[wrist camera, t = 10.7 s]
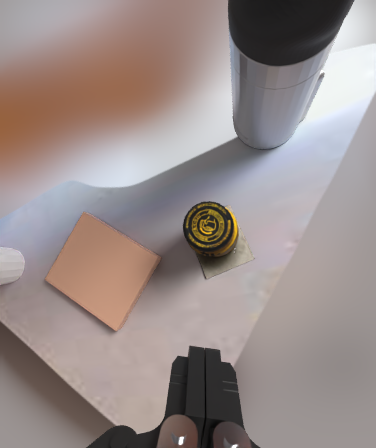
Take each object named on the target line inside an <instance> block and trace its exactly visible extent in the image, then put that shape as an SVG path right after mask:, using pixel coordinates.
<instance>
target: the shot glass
mask: <svg viewBox="0 0 376 448" xmlns="http://www.w3.org/2000/svg"><path fill="white" fill-rule="evenodd" d="M24 268H25V261H24V257H23V255H22V254H21V253H20V252H19V251H18V250H15V249H11V248H5V247H0V285H3V284H7V283H12V282H14V281H16V280H18V279H19V278H20V277H21V275H22V273H23V271H24Z"/></svg>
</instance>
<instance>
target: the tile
mask: <svg viewBox="0 0 376 448" xmlns="http://www.w3.org/2000/svg"><path fill="white" fill-rule="evenodd" d="M161 258H162V257H160V256H158V255H157V254H155V253H153V252H152V251H150V250H149V249H147V248H145V247H144V246H142V245H140V244H139V243H137V242H135V241H134V240H132V239H131V238H129V237H127V236H126V235H124V234H122V233H121V232H119V231H118V230H116V229H114V228H113V227H111V226H109V225H108V224H106V223H104V222H103V221H101V220H100V219H98V218H96V217H95V216H93V215H91V214H90V213H86V212H83V213H82V215H81V217H80V219H79V220H78V222H77V224H76V226H75V227H74V229H73V231H72V233H71V234H70V236H69V238H68V240H67V241H66V243H65V245H64V247H63V248H62V250H61V252H60V254H59V255H58V257H57V259H56V261H55V262H54V264H53V266H52V268H51V269H50V271H49V273H48V275H47V276H46V278H45V280H46V281H48V282H49V283H50V284H52V285H53V286H54V287H56V288H57V289H59V290H60V291H61V292H63V293H64V294H66V295H67V296H68V297H70V298H71V299H72V300H74V301H75V302H77V303H78V304H79V305H81V306H82V307H83V308H85V309H86V310H88V311H89V312H90V313H92V314H93V315H95V316H96V317H97V318H99V319H100V320H101V321H103V322H104V323H106V324H107V325H108V326H110V327H111V328H113V329H114V330H115V331H118V330H119V329H121V328H122V327H123V325H124V323H125V321H126V320H127V318H128V316H129V314H130V313H131V311H132V309H133V307H134V306H135V304H136V302H137V300H138V299H139V297H140V295H141V293H142V291H143V290H144V288H145V286H146V284H147V283H148V281H149V279H150V277H151V276H152V274H153V272H154V270H155V269H156V267H157V265H158V263H159V262H160V260H161Z"/></svg>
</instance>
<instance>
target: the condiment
mask: <svg viewBox="0 0 376 448" xmlns="http://www.w3.org/2000/svg"><path fill="white" fill-rule="evenodd" d="M183 231H184V235H185V238H186V239H187V241H188V243H189V245H190V247H191V248H192V249H193V250H195V252H196V254H197V257H198V259H199V262H200V264H201V266H202V269H203V271H204V274H205V276H206V278H207V279H208V278H210V277H213V276H215V275H217V274H220V273H222V272H225V271H227V270H229V269H232V268H234V267H237V266H239V265H241V264H244V263H246V262H249V261H251V260H253V259H255V258H254V256H253V254H252V252H251V250H250V248H249V245H248V243H247V241H246V239H245V237H244V235H243V232H242V230H241V228H240V226H239V224H238V222H237V219H236V217H235V215H234V213H233V211H232V209H231V206H230V205H228V206H226V207H224V206H222V205H220V204H219V203H216V202H210V201H209V202H201V203H199V204H197V205H195V206H193V207H192V208H191V209H190V210H189V211H188V213H187V215H186V216H185V219H184V223H183ZM234 248H236V249H235V250H234ZM234 251H235V253H234Z"/></svg>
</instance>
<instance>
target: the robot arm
mask: <svg viewBox="0 0 376 448" xmlns="http://www.w3.org/2000/svg"><path fill="white" fill-rule="evenodd" d="M353 2H354V0H228V19H229V39H230V57H231V58H230V59H231V81H232V100H233V101H232V102H233V122H234V128H235V132H236V134H237V135H238V137H239V138H240V139H241V140H242V141H243V142H244V143H245V144H247V145H249V146H251V147H253V148H257V149H270V148H275V147H277V146H280V145H281V144H283V143H285V142H286V141H287V140H288V139H289V138H290V137H291V136H292V135H293V133H294V132H295V130H296V128H297V126H298V123H299V122H300V121H302V120H303V119H304V118H305V116H306V114H307V112H308V110H309V108H310V106H311V103H312V101H313V99H314V97H315V95H316V93H317V91H318V88H319V86H320V84H321V82H322V80H323V78H324V71H323V67H324V64H325V62H326V60H327V58H328V55H329V53H330V50H331V48H332V46H333V43H334V41H335V39H336V37H337V34H338V32H339V30H340V27H341V25H342V23H343V20H344V18H345V17H346V15H347V14H348V12H349V10H350V8H351V6H352V4H353ZM87 448H260V447H258V446H257V445H256V444H255V443H254V442H252V440H251V439H250V438H249V437H248V434H247V433H246V431H245V429H244V425H243V419H242V413H241V405H240V399H239V393H238V385H237V379H236V372H235V371H234V369H233V367H232V366H231V364H230V363H227V362H221V355H220V350H217V349H210V348H205V350H204V348H202V347H195V346H189V352H188V357H183V356H177V358H176V359H175V360H174V362H173V363H172V369H171V376H170V383H169V390H168V397H167V404H166V411H165V416H164V419H163V421H162V422H161V424H160V425H159V426H158V427H157V428H155V429H154V430H152V431H150V432H146V433H141V434H136V432H135V431H134V430H133V429H132V428H130V427H128V426H124V425H120V426H115V427H113V428H111V429H109V430H108V431H106V432H105V433H104V434H103V435H101V436H100V437H99V438H98V439H96V440H95V441H94V442H93V443H92V444H91V445H89V446H88V447H87Z"/></svg>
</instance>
